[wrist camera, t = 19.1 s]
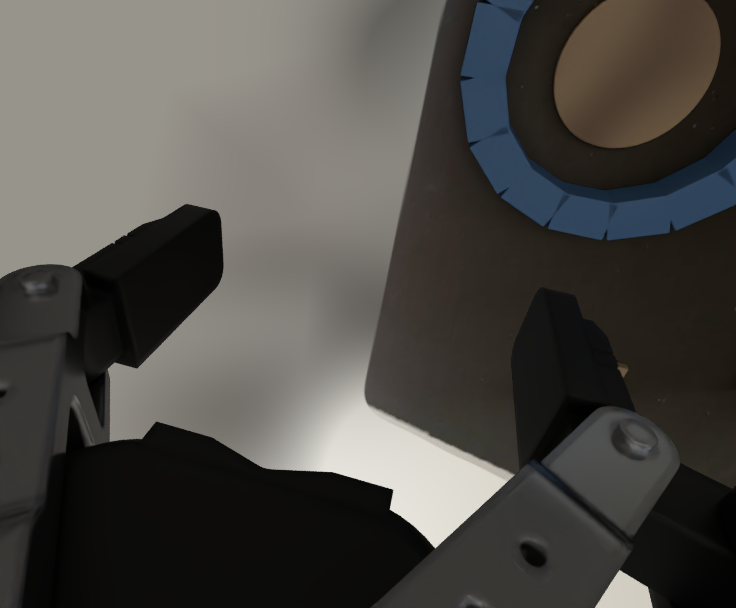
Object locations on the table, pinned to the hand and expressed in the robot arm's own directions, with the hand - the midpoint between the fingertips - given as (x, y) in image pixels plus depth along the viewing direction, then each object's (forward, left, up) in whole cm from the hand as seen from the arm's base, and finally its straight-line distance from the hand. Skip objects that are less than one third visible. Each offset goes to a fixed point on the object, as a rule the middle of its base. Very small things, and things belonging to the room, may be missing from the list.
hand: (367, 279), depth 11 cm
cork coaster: (+12, +4, -28) cm, 31 cm away
